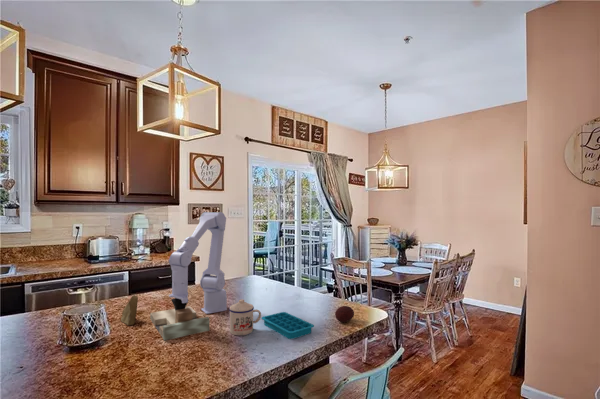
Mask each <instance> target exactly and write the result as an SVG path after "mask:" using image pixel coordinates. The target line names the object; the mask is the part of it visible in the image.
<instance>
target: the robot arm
mask: <svg viewBox="0 0 600 399" xmlns="http://www.w3.org/2000/svg"><path fill="white" fill-rule="evenodd" d="M198 220H199V223H198V225H196V227H195V229H194V231H193V233H192V234H191V236H187V237H186V238H184V240H183V242H182V243H181V245H180V246H179V248H178V249H177V250H175V251H173V252H172V253H171V254H170V256H169V259H168V263H169V265H170V269H171V281H172V283H171V294H168V297H169V298H172V299H170V300H171V302H172V304H173V309H175V310H180V309H185V307H187V304H188V302H190V301H189V292H188V290H189V285H188V284H189V282H188V279H189V278H188V276H189V272H188V271H189V265H190V264H191V263H192V257H193V254H194V253H195V251H196V250H197V248H198V247H199V244H200V243H199V241H200V240H201V238H202V237H203V236H204V234H206V232H207V230H208V231H209V232H210V233H211V240H210V247H209V248H210V249H209V256H208V264H207V268H206V269H205V270H204V271H203V272H202V275H201V278H200V281H199V285H200V288H202V291H203V297H204V298H203V307H202V308H200V310H201V311H203V313H205V314H206V315H210V314H213V313H219V312H225V311H227V310H228V307H227V303H228V302H227V301H228V300H227V298H228V297H227V296H228V295H227V292H226V289H224V287H225V285H226V280H225V273H224V271H222V270H221V261H222V255H223V254H222V253H223V246H224V238H225V237H224V236H225V232H226V224H227V217H226V215H225V214H224V212H222V211H219V212H216V211H215V212H210V211H209V212H208V211H203V213H202V214H201V215H200V217H199V219H198Z"/></svg>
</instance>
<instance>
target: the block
mask: <svg viewBox="0 0 600 399" xmlns="http://www.w3.org/2000/svg"><path fill="white" fill-rule="evenodd" d="M190 320H192V311H191V310H190V308H186V309H180V310H175V323H180V322H185V321H190Z"/></svg>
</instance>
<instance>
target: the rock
mask: <svg viewBox="0 0 600 399" xmlns="http://www.w3.org/2000/svg"><path fill="white" fill-rule="evenodd" d="M138 301H139V297H138V296H137V295H135V294H134V295H132V296H130V299H129V301H128V302H127V303H126V305H125V306H124V308H123V310H122V313H121V318H120V322H122V323H124V324H125V325H127V326H132V325H135V322H136V317H137V311H138Z"/></svg>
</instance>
